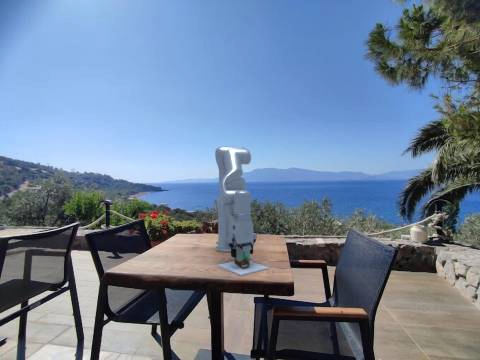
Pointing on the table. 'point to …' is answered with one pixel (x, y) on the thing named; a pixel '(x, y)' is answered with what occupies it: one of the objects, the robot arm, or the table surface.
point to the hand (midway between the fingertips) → (242, 255)
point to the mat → (237, 270)
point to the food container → (243, 255)
